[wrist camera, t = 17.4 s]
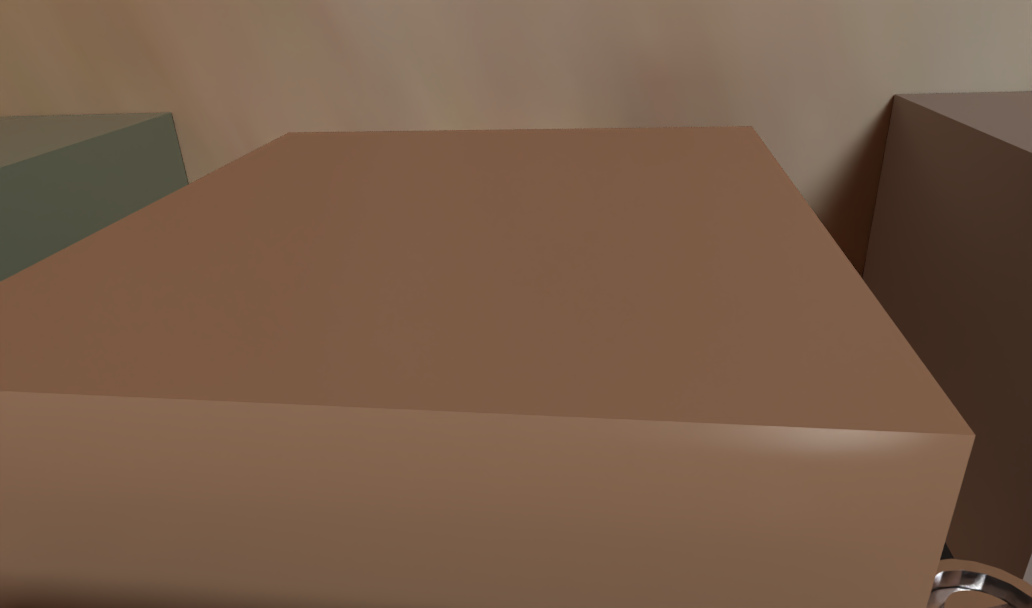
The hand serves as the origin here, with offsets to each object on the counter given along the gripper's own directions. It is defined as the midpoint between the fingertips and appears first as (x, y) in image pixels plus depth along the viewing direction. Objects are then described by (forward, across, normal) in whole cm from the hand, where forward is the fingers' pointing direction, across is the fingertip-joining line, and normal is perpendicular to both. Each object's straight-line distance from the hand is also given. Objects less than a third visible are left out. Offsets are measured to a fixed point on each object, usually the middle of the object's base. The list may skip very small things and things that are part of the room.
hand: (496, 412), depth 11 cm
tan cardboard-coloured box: (+2, 0, 0) cm, 2 cm away
